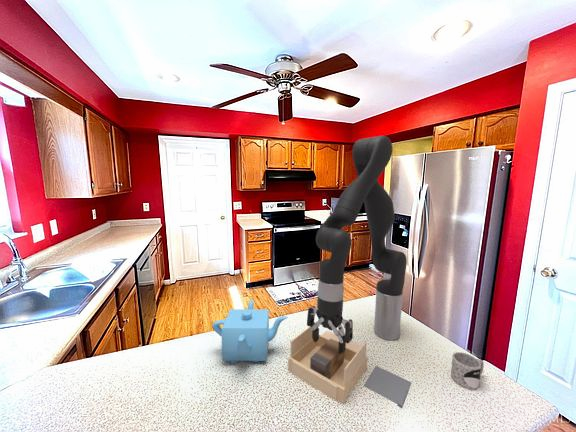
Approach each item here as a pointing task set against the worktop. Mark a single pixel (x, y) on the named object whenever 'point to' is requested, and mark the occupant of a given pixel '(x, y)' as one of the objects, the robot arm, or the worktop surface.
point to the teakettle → (246, 334)
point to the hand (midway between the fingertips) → (327, 346)
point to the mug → (466, 370)
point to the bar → (327, 359)
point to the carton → (343, 376)
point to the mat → (388, 385)
